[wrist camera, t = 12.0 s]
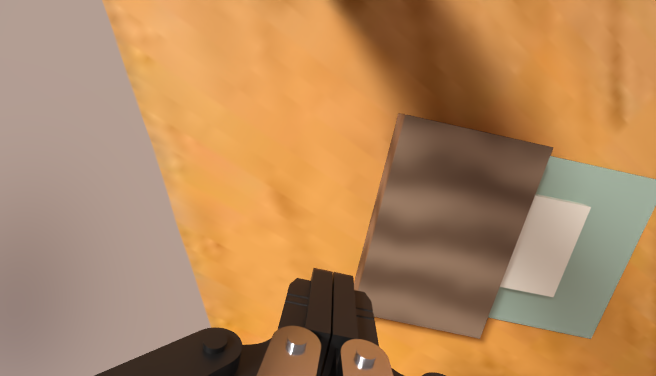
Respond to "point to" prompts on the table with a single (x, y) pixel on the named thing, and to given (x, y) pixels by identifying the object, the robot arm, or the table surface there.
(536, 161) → the walnut deck
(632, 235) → the green mat
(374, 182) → the table surface
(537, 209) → the white flat block
